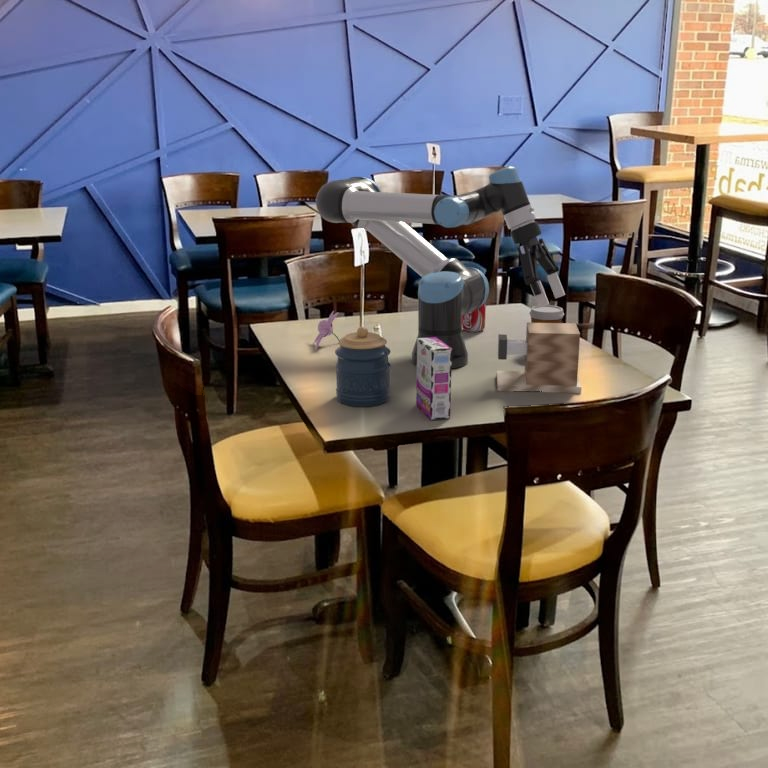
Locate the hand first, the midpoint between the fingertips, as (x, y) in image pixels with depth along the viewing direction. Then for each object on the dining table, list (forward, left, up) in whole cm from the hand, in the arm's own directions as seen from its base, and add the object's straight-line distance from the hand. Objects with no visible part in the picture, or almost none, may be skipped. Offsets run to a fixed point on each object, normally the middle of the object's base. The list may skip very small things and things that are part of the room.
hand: (552, 301), depth 241 cm
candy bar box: (-29, -41, -17) cm, 53 cm away
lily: (-62, +14, -17) cm, 66 cm away
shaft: (-7, -19, -10) cm, 22 cm away
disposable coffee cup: (0, +12, -17) cm, 21 cm away
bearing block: (-4, -19, -17) cm, 26 cm away
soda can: (-20, +33, -17) cm, 42 cm away
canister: (-46, -33, -17) cm, 59 cm away
